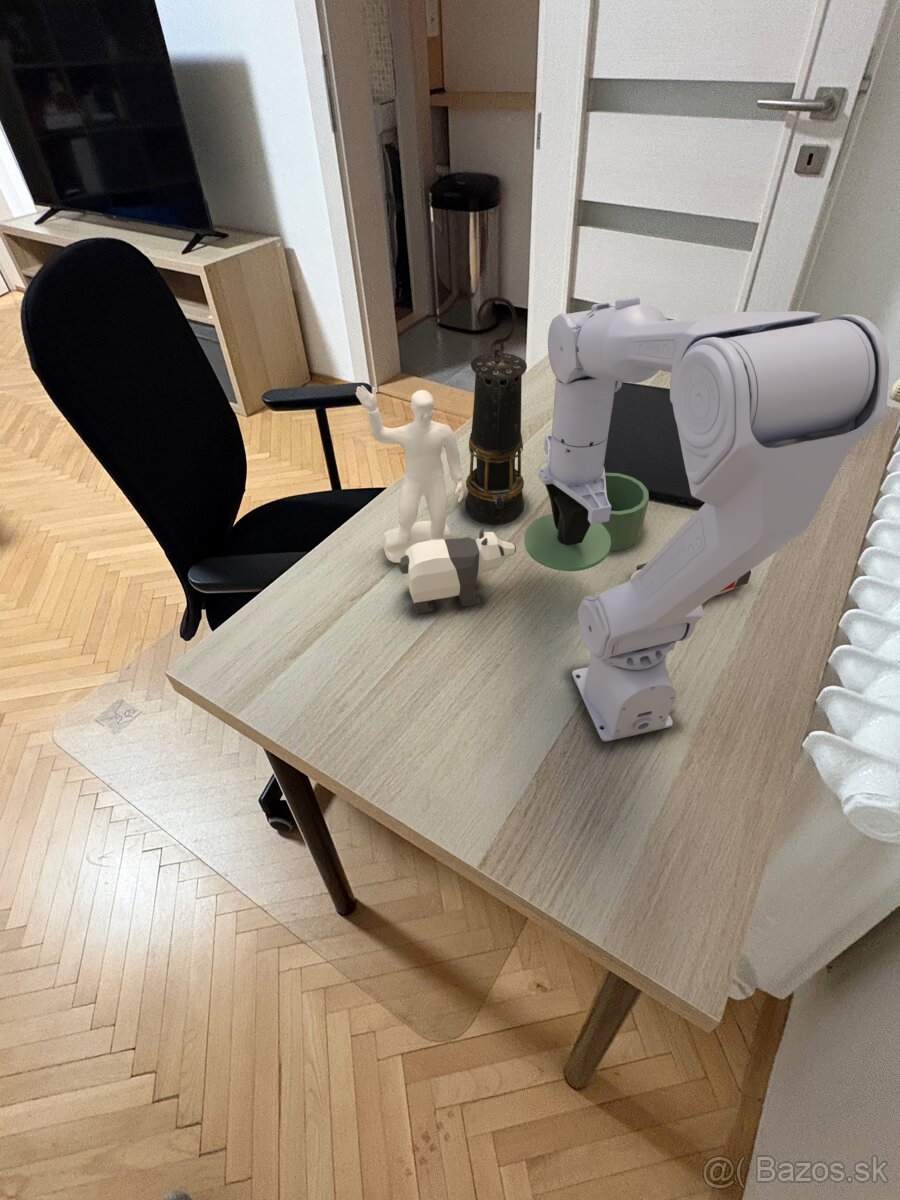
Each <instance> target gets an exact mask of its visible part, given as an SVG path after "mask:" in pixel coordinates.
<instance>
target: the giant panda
mask: <svg viewBox="0 0 900 1200" xmlns="http://www.w3.org/2000/svg"><path fill="white" fill-rule="evenodd" d="M516 552H517V547H516V544H515V543H514V542H510V541H505V540H501V539H500V538H499V536H497V535H496V533H495V532H494V531H485V529H484V528H482V529H480V531H479V533H478V537H477V538H476V539H473V538H472V537H469V536H466V537H458V538H452V539H439V540H428V541H424V542H419V543H416V544H414V545H412V546H410V547H409V548H408V549H407V550H406V551H405V556H404V557H402V558H401V561H400V563H399V564H400V565H399V571H400V573H401V574H402V575H406V581H407V586H408V590H409V594H410V597H411V599H412V601H413V602H412V603H413V608H414V611H415V612H416V614H419V615H420V614H427V613H431V612H433V611H435V605H434V604H433V603H432V601H433V600H440V599H441V600H442V599H446V598H452V597H456V596H458V599H459V603H460V605H461V606H462V607H472V606H476V605H479V604H480V598H479V596H478V595H477V594H475V590H476V589H475V588H476V584H477V580H478V576H479V574H484V573H486V572H490V571H492V570H495V569H498V568H500V567H501V566H503V565H504V564H505V563H504V562H505V560H507V559H509V558H510V557H512V556H514V555H515V553H516Z"/></svg>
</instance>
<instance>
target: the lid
mask: <svg viewBox="0 0 900 1200" xmlns="http://www.w3.org/2000/svg"><path fill="white" fill-rule="evenodd" d="M523 544H524V547H525V551H526V552H527V554H528V555H529V556H530V557H531V558H532V559H533V560H534V561H535V562H536V563H538V564H539V565H542V566H544V567H546V568H549V569H552V570H556V571H561V572H579V571H584V570H589V569H591V568H593V567H595V566H598V565H599V564H600V563H602V562H604V560H605V559H606V558H607V557H608V556H609V553H610V552H611V551H610V547H611V538H610V535H609V533H608V531H607V530H606V528H605V527H604V526H603V525H602V524H601V523H596V524H591V525H590V527H589V529H588V531H587V533H586V535H585V537H584V539H583V541H582V543H577V544H572V545H565V543H564V540H563V536H562V520H561V515H560V514H559V524H558V530H557V529H556V527H555V524H554V519H553V513H548V514H545V515H541V516H540V517H538V518H536V519H535V520H534V521H532V522H531V523H530V524H529V525H528V527H527V528H526V529H525V533H524V537H523Z"/></svg>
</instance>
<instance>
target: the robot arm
mask: <svg viewBox="0 0 900 1200" xmlns="http://www.w3.org/2000/svg"><path fill="white" fill-rule="evenodd" d="M822 316H823V314H822V313H818V312H814V311H807V310H806V311H805V310H804V311H803V310H800V311H799V310H798V311H797V310H796V311H795V310H791V311H789V310H787V311H786V310H784V311H783V310H782V311H781V310H779V311H777V310H775V311H774V310H773V311H771V310H770V311H766V310H765V311H763V310H761V311H758V310H757V311H753V310H752V311H737V312H728V313H719V314H711V315H703V316H695V317H687V318H686V317H685V318H679V319H678V318H677V319H671V320H668V318H667V316H665V314H664V313H663V312H662V311H660V309H658V308H657V307H655V306H652V305H649V304H644V303H643V304H642V303H641V297H640V296H631V297H626V298H619V299H618V298H617V299H616V300H615V301H614V306H611V304H610V302H601V303H594V304H592V306H591V307H590V309H589V310H583V311H577V312H571V313H570V312H569V313H563V312H561V313H560V312H559V313H558V314H557V316H555V317H553V318H552V320H551V321H550V324H549V328H548V332H547V333H548V334H547V335H548V336H547V352H548V359H549V365H550V368H551V370H552V373H553V375H554V377H555V386H554V399H553V409H552V411H553V413H552V424H551V427H552V428H551V434H549V435H545V436H544V446H543V451H544V453H545V454H546V455H547V457H546V467H545V468H541V469H539V470H538V479H539V480H540V482H541V483H542V484H543V485H544V486H545V488H546V491H547V494H548V497H549V501H550V507H551V512H552V513H553V519H554V524H555V527H556V529H557V530H558V524H559V514H560V515H561V520H562V536H563V540H564V543H565V545H572V544H577V543H582V541H583V539H584V537H585V535H586V533H587V531H588V529H589V527H590V525H591V524H596V523H603V522H607V521H609V518H610V512H611V505H610V503H609V498H608V496H607V491H606V479H605V473H606V470H605V466H604V465H605V458H606V452H607V447H608V439H609V434H610V433H609V431H610V425H611V418H612V413H613V406H614V399H615V393H617V392H618V391H620V389H621V388H622V386H623V383H631V384H637V383H642V382H645V381H647V380H650V379H652V378H653V377H654V376H655V375H656V374H658V373H659V372H660V371H661V372H667V373H670V380H669V381H670V382H669V401H670V403H671V404H672V410H673V415H674V419H675V423H676V429H677V433H678V437H679V442H680V448H681V449H680V450H681V454H682V459H683V464H684V468H685V473H686V477H687V481H688V485H689V491H690V492H689V493H690V495H691V497H693V498H694V499H696V500H699V501H701V502H703V503H704V504H703V505H701V507H700V508H699V509H698V510H697V511H695V513H694V514H693V515H692V516H691V517H690V518H689V519H688V520H687V521H686V522H685V523H684V524H683V526H682V527H681V528H680V529H678V530H677V531H676V532H675V534H674V535H673V536H672V537H671V538H670V539H669V540H668V541H667V542H666V543H665V544H664V545H663V546H662V547H661V548H660V549H659V550H658V551H657V552H656V554H654V555H653V556H652V558H651V559H650V560H648V562H646V563H647V564H646V565H645V566H644V567H643V568H642V569H641V570H640V571H639V572H638V573H637V574H636V575H635V576H634V577H633V579H632V580H630V579H629V580H628V581H625V582H623V583H621V584H618V585H615V586H613V587H611V588H608V589H606V590H603V591H601V592H599V593H598V594H597V595H586V596H584V597H583V598H582V600H581V602H580V605H579V607H578V611H577V621H578V628H579V631H580V636H581V639H582V641H583V644H584V646H585V648H586V649H587V651H588V652H589V653H590V655H589V662H588V666H587V667H582V668H577V669H573V670H572V671H571V677H572V679H573V681H574V683H575V685H576V687H577V689H578V692H579V694H580V697H581V698H582V700H583V703H584V705H585V707H586V709H587V712H588V713H589V715H590V718H591V720H592V723H593V725H594V727H595V729H596V731H597V734H598V736H599V738H600V740H601V741H602V742H605V743H606V742H611V741H616V740H619V739H624V738H628V737H632V736H637V735H642V734H645V733H649V732H656V731H658V730H663V729H667V728H670V727H672V726H673V724H674V721H673V719H672V717H671V716H670V715H671V714H670V713H671V711H672V708H673V705H674V703H675V699H676V697H677V692H676V689H675V686H674V684H673V682H672V680H671V677H670V676H669V672H668V669H667V660H666V658H667V654H668V653H670V652H671V651H674V649H675V646H676V643H677V642H683V641H686V640H688V639H690V638H691V637H692V635H693V632H694V629H695V626H696V624H697V623H698V622H699V620H701V619H702V618H703V617H704V616H705V614H704V609H703V604H705V603H706V602H707V601H709V600H710V599H712V598H713V597H715V596H714V595H716V594H717V593H719V592H720V591H721V590H723V589H724V588H726V587H727V586H728V585H730V584H731V583H733V582H734V581H736V580H737V579H738V578H740V577H741V576H743V575H744V574H746V573H747V572H748V571H750V570H751V571H752V570H753V569H754V568H755V567H757V566H758V565H760V564H761V563H763V562H764V561H766V560H767V559H768V558H770V557H771V556H773V555H774V554H775V553H777V552H778V551H780V550H781V549H783V548H784V547H785V546H787V545H788V544H790V543H791V542H793V541H794V540H795V539H797V538H798V537H800V536H801V535H802V534H803V533H804V532H805V531H806V530H807V529H808V528H809V527H810V525H811V523H812V522H813V520H814V518H815V516H816V514H817V513H818V511H819V509H820V506H821V505H822V503H823V501H824V499H825V497H826V496H827V494H828V491H829V490H830V488H831V486H832V484H833V482H834V481H835V478H836V476H837V475H838V473H839V471H840V470H841V467H842V465H843V464H844V462H845V460H846V459H847V456H848V454H849V452H850V451H851V449H852V448H853V447H854V446H856V445H857V444H858V443H859V442H860V441H861V440H863V439H864V438H865V437H866V436H868V435H869V434H870V433H871V432H872V431H873V430H875V429H876V428H877V427H878V426H879V425H880V424H882V423H883V422H884V421H885V420H886V418H887V405H888V404H887V403H888V392H889V391H888V390H889V378H890V377H889V376H890V358H889V351H888V348H887V344H886V341H885V339H884V337H883V334H882V333H881V331H880V329H879V327H877V326H876V325H875V324H874V323H873V322H872V321H870V320H869V319H867V318H865V317H864V316H861V315H858V314H852V313H850V314H848V313H847V314H845V313H844V314H839V315H836V316H833V317H830V318H827V319H825V320H824V321H819V322H816V321H817V320H819V319H820V318H822ZM552 513H551V514H552ZM716 596H717V595H716ZM601 728H602V729H601Z"/></svg>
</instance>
